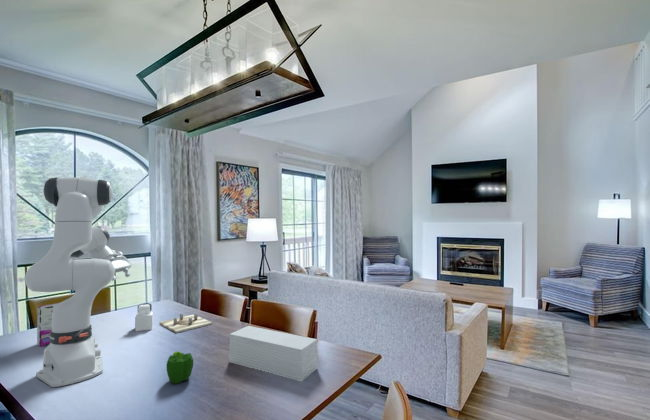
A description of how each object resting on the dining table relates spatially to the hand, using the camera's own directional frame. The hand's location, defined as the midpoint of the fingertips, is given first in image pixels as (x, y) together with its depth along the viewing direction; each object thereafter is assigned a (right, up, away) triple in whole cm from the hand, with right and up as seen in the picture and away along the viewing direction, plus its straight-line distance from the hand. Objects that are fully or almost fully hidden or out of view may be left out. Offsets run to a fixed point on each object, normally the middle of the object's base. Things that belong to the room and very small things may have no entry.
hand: (122, 277), depth 161 cm
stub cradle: (+30, -25, +5) cm, 39 cm away
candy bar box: (-17, -24, -20) cm, 36 cm away
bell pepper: (+53, -23, -53) cm, 78 cm away
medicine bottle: (+12, -25, -2) cm, 28 cm away
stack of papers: (+82, -24, -42) cm, 95 cm away
